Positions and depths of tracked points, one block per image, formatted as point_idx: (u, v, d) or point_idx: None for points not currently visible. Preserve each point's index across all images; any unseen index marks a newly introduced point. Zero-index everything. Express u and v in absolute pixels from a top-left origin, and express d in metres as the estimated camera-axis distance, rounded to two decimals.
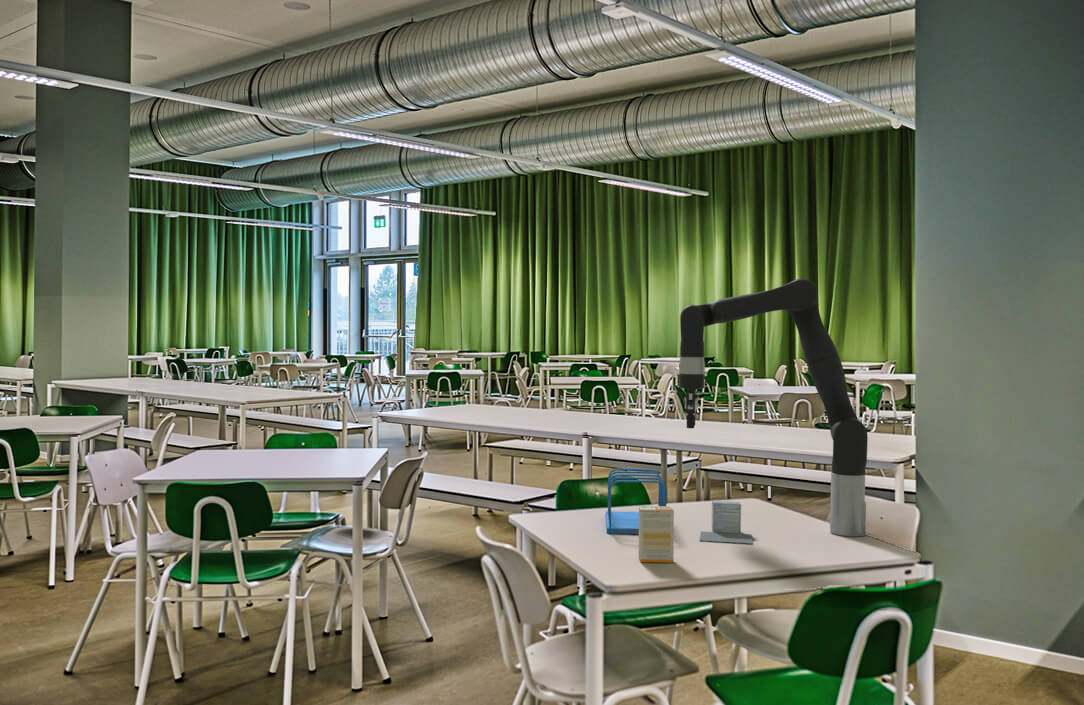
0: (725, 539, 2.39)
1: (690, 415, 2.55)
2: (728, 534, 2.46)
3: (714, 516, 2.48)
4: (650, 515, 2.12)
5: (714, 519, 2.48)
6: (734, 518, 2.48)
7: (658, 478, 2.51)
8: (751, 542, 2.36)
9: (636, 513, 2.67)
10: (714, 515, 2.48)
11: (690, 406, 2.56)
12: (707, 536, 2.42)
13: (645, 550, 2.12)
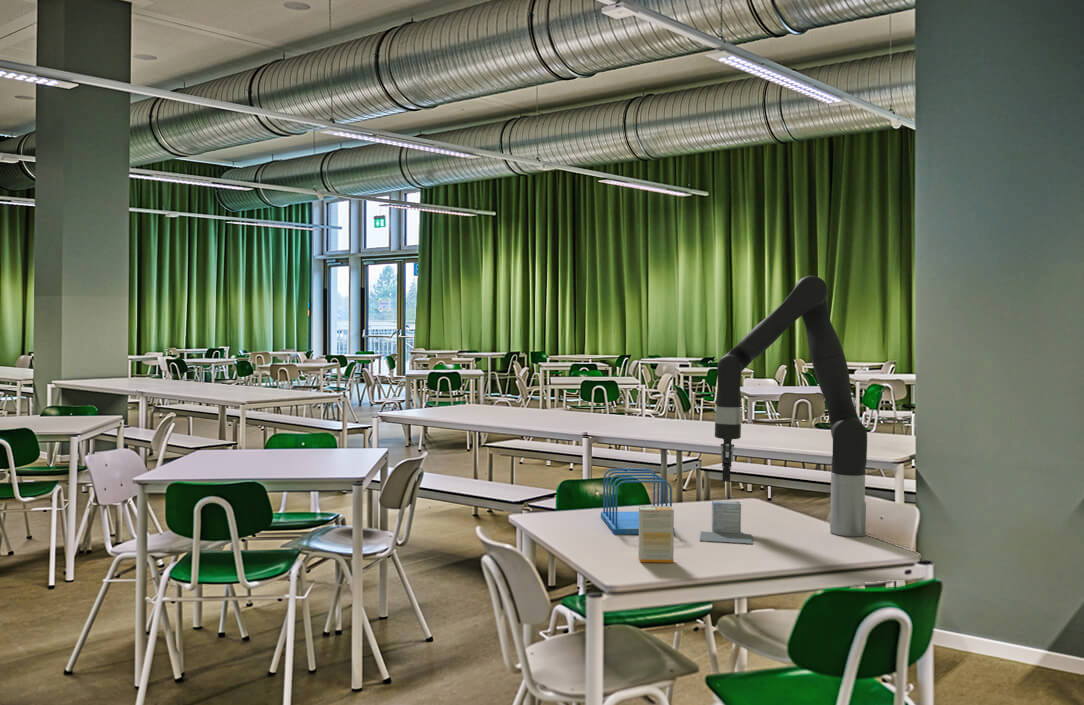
0: (725, 539, 2.39)
1: (726, 468, 2.57)
2: (728, 534, 2.46)
3: (714, 516, 2.48)
4: (650, 515, 2.12)
5: (714, 519, 2.48)
6: (734, 518, 2.48)
7: (661, 478, 2.52)
8: (751, 542, 2.36)
9: (632, 513, 2.67)
10: (714, 515, 2.48)
11: None
12: (707, 536, 2.42)
13: (645, 550, 2.12)
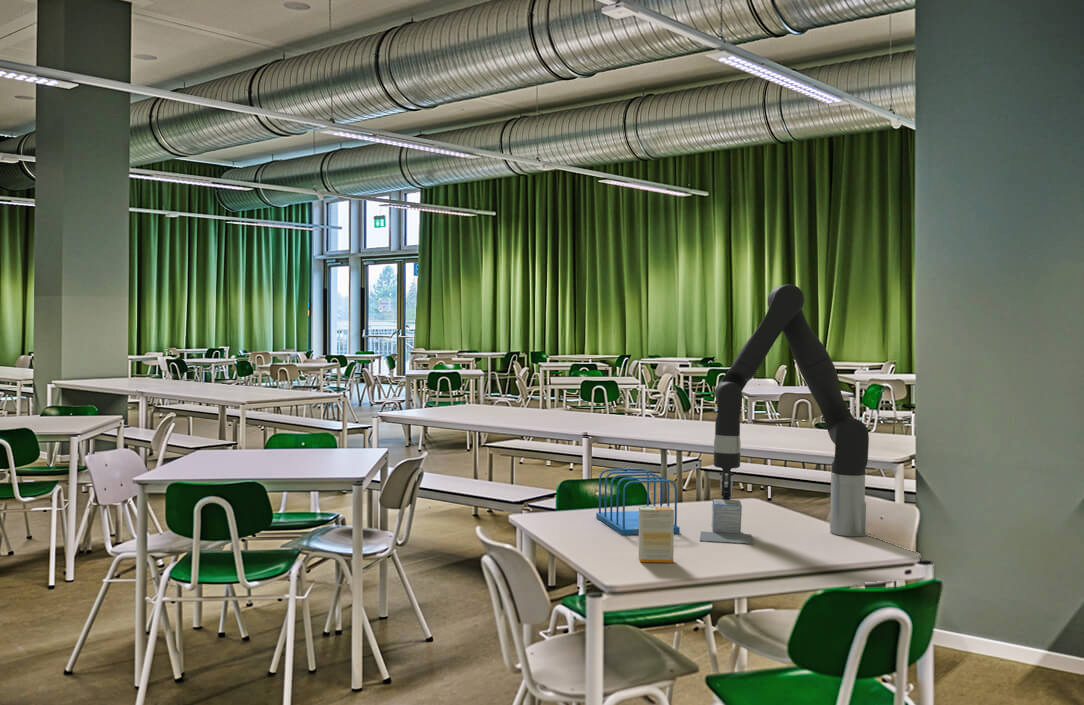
0: (725, 539, 2.39)
1: (726, 498, 2.52)
2: (728, 534, 2.46)
3: (714, 517, 2.48)
4: (650, 515, 2.12)
5: (714, 520, 2.48)
6: (734, 519, 2.47)
7: (663, 477, 2.53)
8: (751, 542, 2.36)
9: (628, 513, 2.67)
10: (714, 516, 2.47)
11: None
12: (707, 536, 2.42)
13: (645, 550, 2.12)
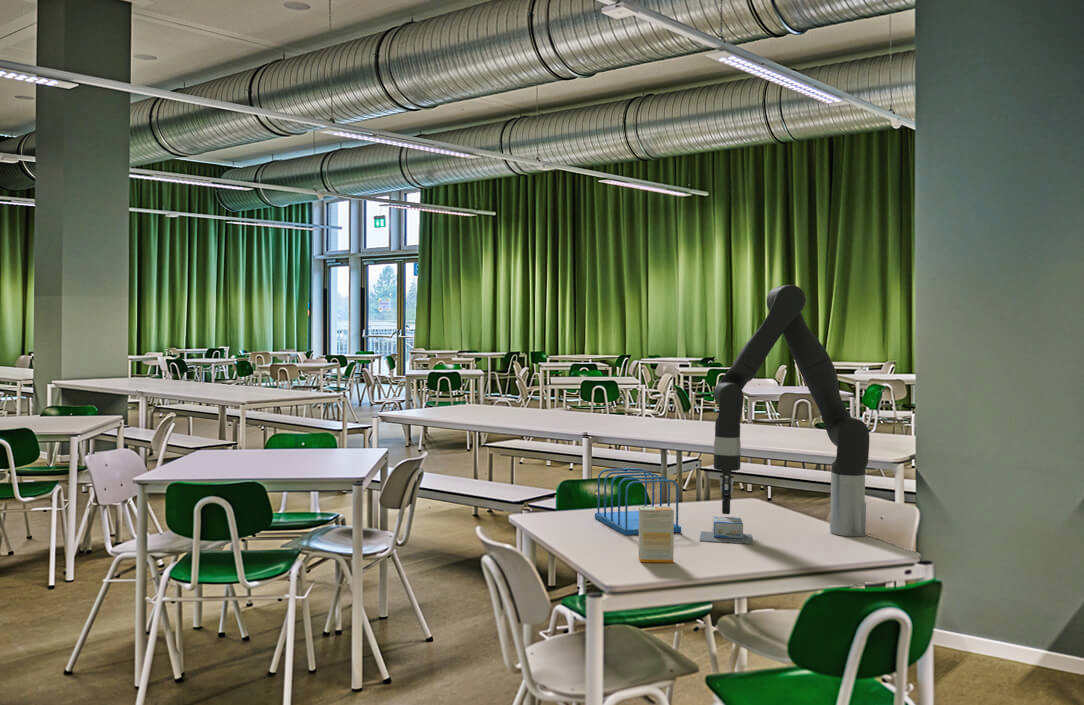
0: (725, 539, 2.39)
1: (726, 501, 2.47)
2: None
3: None
4: (650, 515, 2.12)
5: None
6: None
7: (664, 477, 2.54)
8: (751, 542, 2.36)
9: (626, 513, 2.67)
10: None
11: None
12: (707, 536, 2.42)
13: (645, 550, 2.12)
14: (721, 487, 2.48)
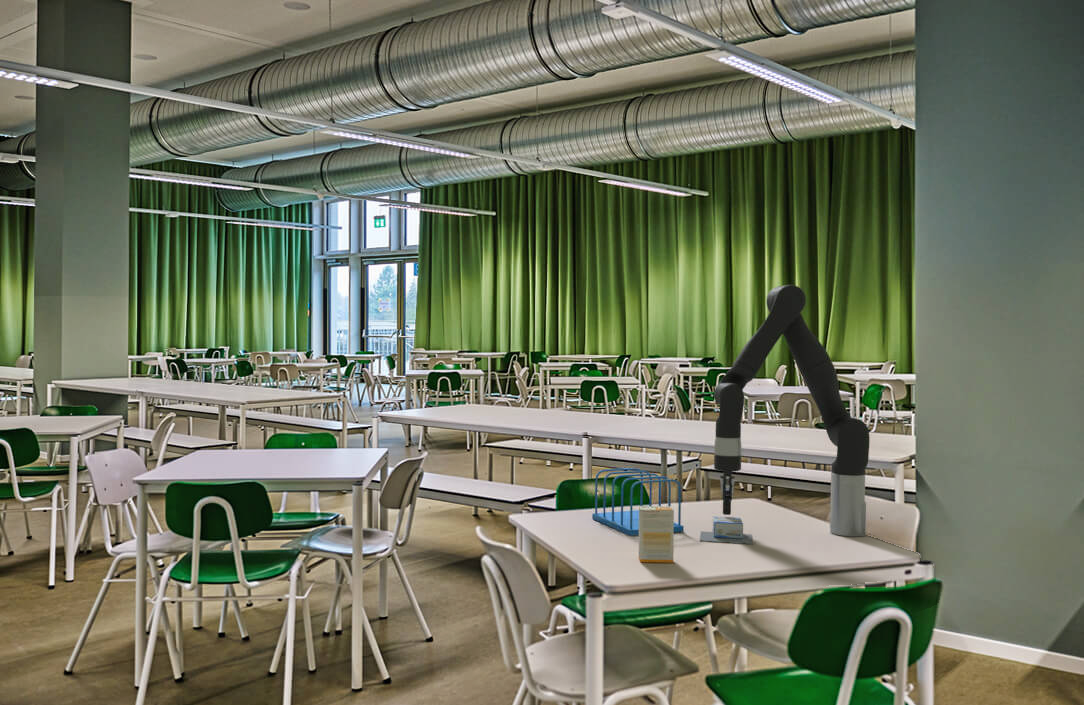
0: (725, 539, 2.39)
1: (727, 501, 2.47)
2: None
3: None
4: (650, 515, 2.12)
5: None
6: None
7: None
8: (751, 542, 2.36)
9: (623, 513, 2.67)
10: None
11: None
12: (707, 536, 2.42)
13: (645, 550, 2.12)
14: (722, 488, 2.47)
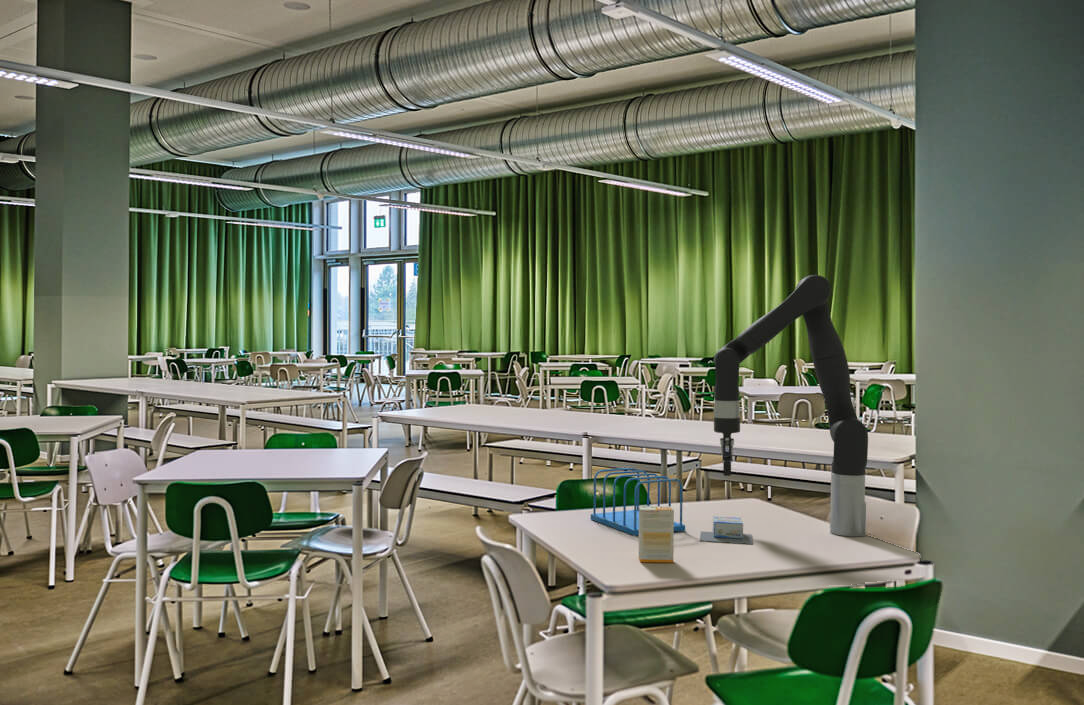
0: (725, 539, 2.39)
1: (727, 462, 2.54)
2: None
3: None
4: (650, 515, 2.12)
5: None
6: None
7: (665, 476, 2.55)
8: (751, 542, 2.36)
9: (621, 513, 2.67)
10: None
11: None
12: (707, 536, 2.42)
13: (645, 550, 2.12)
14: (722, 449, 2.55)
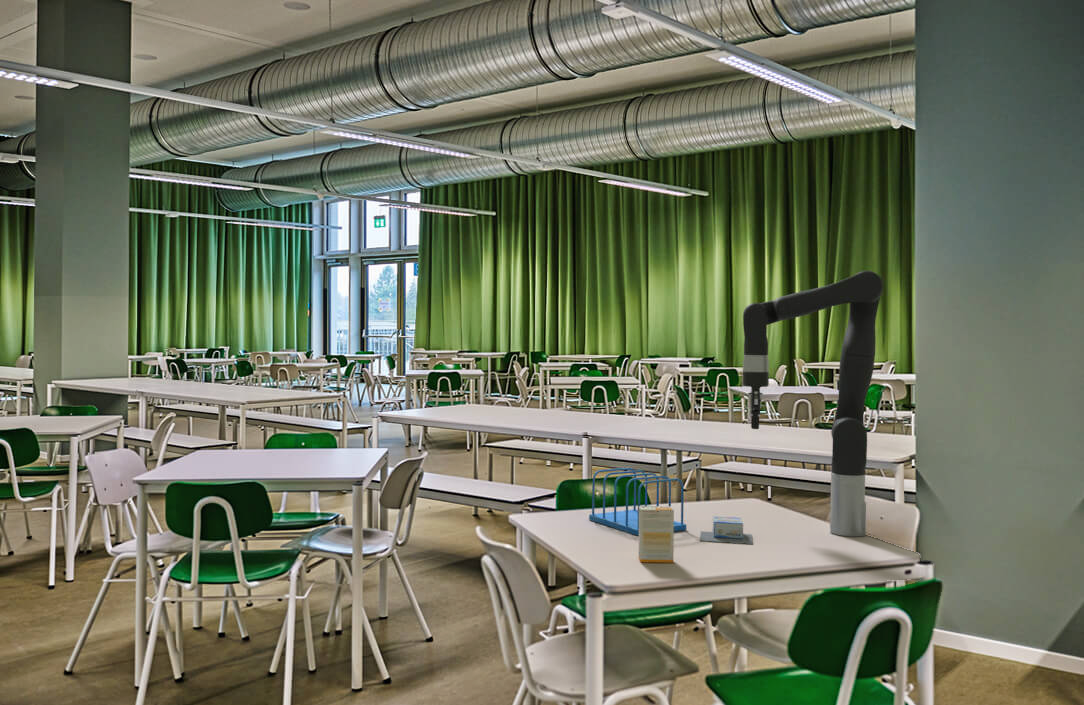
0: (725, 539, 2.39)
1: (755, 416, 2.59)
2: None
3: None
4: (650, 515, 2.12)
5: None
6: None
7: (666, 476, 2.56)
8: (751, 542, 2.36)
9: (619, 513, 2.67)
10: None
11: None
12: (707, 536, 2.42)
13: (645, 550, 2.12)
14: (750, 403, 2.59)
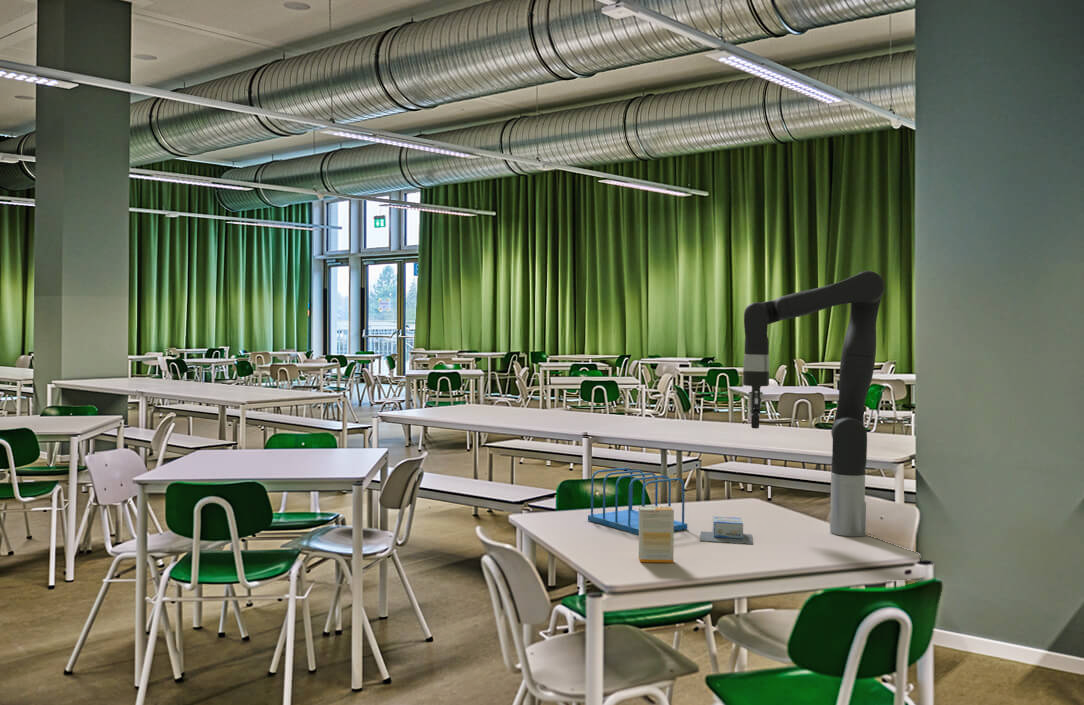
0: (725, 539, 2.39)
1: (755, 415, 2.59)
2: None
3: None
4: (650, 515, 2.12)
5: None
6: None
7: None
8: (751, 542, 2.36)
9: (617, 513, 2.66)
10: None
11: None
12: (707, 536, 2.42)
13: (645, 550, 2.12)
14: (751, 402, 2.59)
